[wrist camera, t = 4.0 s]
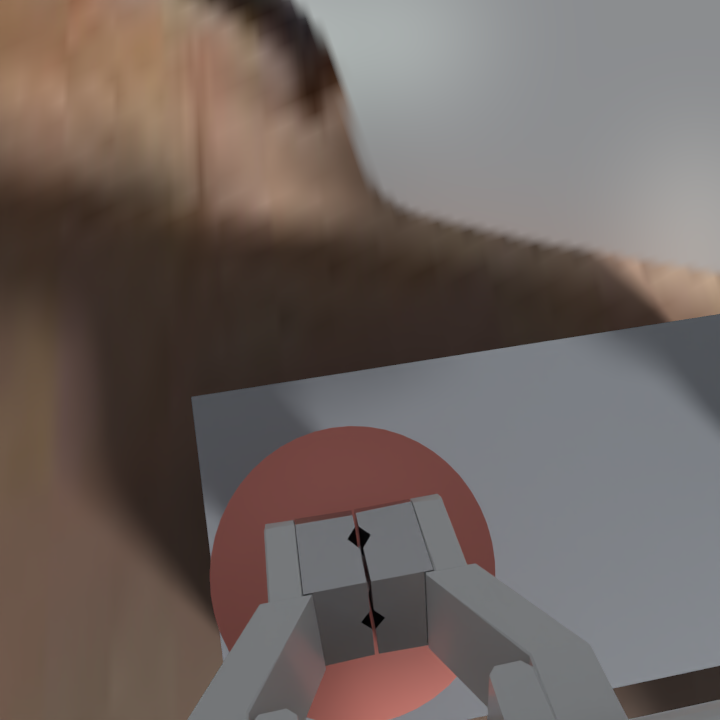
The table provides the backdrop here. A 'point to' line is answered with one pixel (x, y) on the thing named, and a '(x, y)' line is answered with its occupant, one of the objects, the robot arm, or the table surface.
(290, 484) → the red plug
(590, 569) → the block
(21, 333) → the table surface
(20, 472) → the table surface
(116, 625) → the table surface
